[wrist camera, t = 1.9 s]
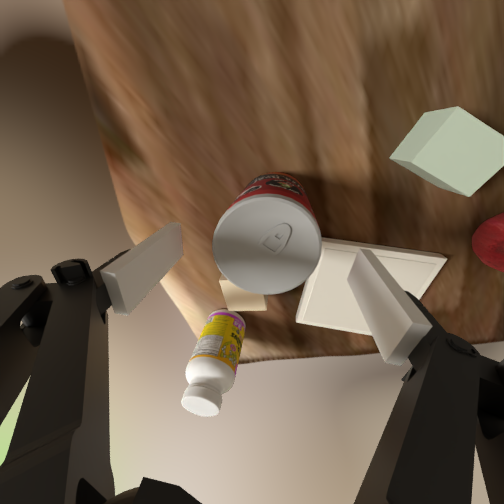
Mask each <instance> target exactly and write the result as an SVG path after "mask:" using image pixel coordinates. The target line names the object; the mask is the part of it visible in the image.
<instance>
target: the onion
mask: <svg viewBox="0 0 504 504" xmlns="http://www.w3.org/2000/svg"><path fill="white" fill-rule="evenodd" d="M472 249H473V251H474V252H475V254H476V255H477V256H478V257H479V259H480V260H481V261H482V262H483V263H484V264H486V265H488V266H490V267H492V268H494V269H496V270H499V271H501V272H504V212H503V213H501V214H499V215H496V216H494V217H492V218H489V219H487V220H486V221H485V222H483V223H482V224H481V225H479V227H478V228H477V230H476V231H475V233H474V234H473V236H472Z"/></svg>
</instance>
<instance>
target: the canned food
mask: <svg viewBox="0 0 504 504" xmlns="http://www.w3.org/2000/svg"><path fill="white" fill-rule="evenodd" d="M212 251H213V255H214V260H215V262H216V264H217V266H218V268H219V270H220V271H221V273H222V274H223V275H224V276H225V277H226V278H227V279H228V280H229V281H230V282H231V283H233V284H234V285H235V286H237V287H239V288H241V289H243V290H245V291H248V292H251V293H256V294H263V295H268V294H278V293H283V292H286V291H289V290H292V289H293V288H295V287H297V286H299V285H300V284H302V283H303V282H304V281H306V280H307V279H308V278H309V277H310V275H311V274H312V273H313V272H314V270H315V268H316V267H317V265H318V263H319V260H320V257H321V251H322V239H321V232H320V229H319V226H318V222H317V220H316V217H315V215H314V212H313V210H312V207H311V205H310V202H309V200H308V197H307V195H306V192H305V190H304V188H303V186H302V185H301V184H300V182H298V181H297V180H296V179H295V178H294V177H292V176H290V175H288V174H285V173H281V172H271V173H266V174H263V175H260V176H258V177H257V178H255V179H254V180H253V181H251V182H250V183H249V184H248V185H247V187H246V188H245V189H244V190H243V191H242V193H241V194H240V195H239V196H238V197H237V198H236V200H235V201H234V202H233V203H232V204H231V206H230V207H229V208H228V209H227V211H226V212H225V213H224V215H223V216H222V218H221V219H220V221H219V223H218V225H217V227H216V230H215V232H214V236H213V241H212Z"/></svg>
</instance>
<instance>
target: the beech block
mask: <svg viewBox="0 0 504 504" xmlns="http://www.w3.org/2000/svg"><path fill="white" fill-rule="evenodd" d="M219 282H220V285H221V288H222V292H223V295H224V298H225V301H226V304H227V307H228V311H260V310H266V309H267V300H268V295H263V294H256V293H251V292H248V291H245V290H243V289H241V288H239V287H237V286H235V285H234V284H233V283H231V282H230V281H229V280H228V279H227V278H226V277H225V276H224V275H223V274H222V275H221V277H220V280H219Z"/></svg>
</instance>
